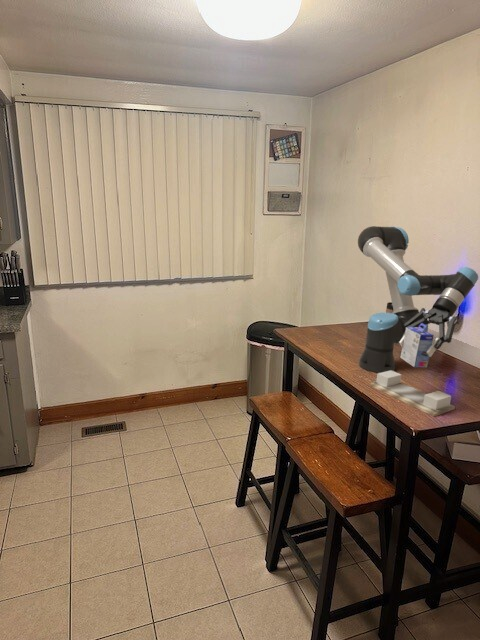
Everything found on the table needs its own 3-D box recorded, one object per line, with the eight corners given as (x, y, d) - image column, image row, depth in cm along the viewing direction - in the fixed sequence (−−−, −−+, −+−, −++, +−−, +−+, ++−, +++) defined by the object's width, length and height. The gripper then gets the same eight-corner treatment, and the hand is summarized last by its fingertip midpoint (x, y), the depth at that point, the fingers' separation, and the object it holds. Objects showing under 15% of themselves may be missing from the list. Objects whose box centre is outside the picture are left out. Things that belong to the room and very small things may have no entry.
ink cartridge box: (428, 367, 154) (435, 328, 150) (414, 368, 153) (421, 328, 149) (413, 357, 163) (419, 320, 159) (399, 357, 162) (405, 320, 158)
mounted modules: (376, 381, 171) (377, 373, 170) (389, 378, 175) (391, 370, 174) (435, 409, 150) (437, 400, 149) (449, 405, 154) (451, 395, 153)
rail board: (370, 385, 171) (370, 381, 170) (390, 380, 177) (391, 376, 177) (433, 416, 148) (434, 412, 148) (454, 409, 155) (455, 405, 154)
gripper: (481, 317, 153) (447, 366, 149) (423, 302, 172) (391, 345, 168) (475, 303, 149) (440, 353, 145) (417, 290, 167) (384, 334, 163)
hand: (414, 349), depth 156 cm, fingers closed on ink cartridge box, 11 cm apart
